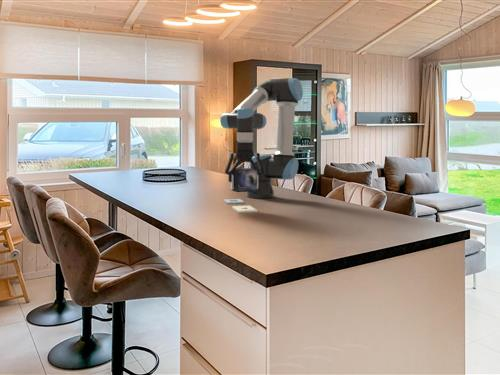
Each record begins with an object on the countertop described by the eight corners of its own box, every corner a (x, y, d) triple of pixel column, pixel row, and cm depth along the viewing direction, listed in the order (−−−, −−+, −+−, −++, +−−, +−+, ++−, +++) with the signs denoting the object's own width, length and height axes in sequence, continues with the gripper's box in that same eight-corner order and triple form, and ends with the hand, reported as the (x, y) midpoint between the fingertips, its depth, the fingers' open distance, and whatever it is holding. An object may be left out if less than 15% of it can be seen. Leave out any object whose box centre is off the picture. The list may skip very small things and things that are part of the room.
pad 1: (239, 200, 252) (239, 198, 252) (244, 203, 243) (244, 201, 242) (223, 201, 250) (223, 199, 250) (227, 204, 240) (227, 202, 240)
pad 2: (249, 207, 232) (249, 205, 232) (257, 212, 219) (257, 210, 219) (231, 207, 230) (231, 206, 230) (238, 213, 216) (238, 211, 216)
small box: (237, 192, 218) (237, 169, 216) (231, 190, 223) (231, 168, 222) (257, 191, 222) (257, 169, 221) (251, 189, 228) (251, 167, 227)
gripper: (267, 141, 227) (266, 187, 229) (218, 141, 221) (218, 188, 223) (271, 142, 219) (270, 189, 222) (221, 142, 213) (221, 190, 216)
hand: (244, 188), depth 223 cm, fingers closed on small box, 11 cm apart
